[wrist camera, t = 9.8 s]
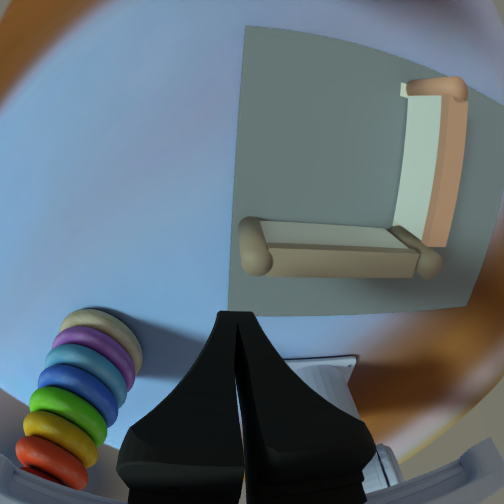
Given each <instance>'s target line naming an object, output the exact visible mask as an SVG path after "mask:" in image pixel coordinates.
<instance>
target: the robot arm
mask: <svg viewBox="0 0 504 504" xmlns="http://www.w3.org/2000/svg"><path fill="white" fill-rule="evenodd" d="M356 361H357V360H356V358H355V357H354V356H348V357H336V358H322V359H305V360H283V358H282V357H281V356H280V355H279V353H278V352H277V351H276V349H275V348H274V347H273V345H272V344H271V342H270V341H269V339H268V338H267V336H266V335H265V333H264V331H263V330H262V328H261V326H260V325H259V323H258V321H257V319H256V317H255V314H254V313H253V312H252V311H219V312H218V313H217V317H216V321H215V324H214V327H213V329H212V332H211V334H210V336H209V338H208V340H207V342H206V344H205V346H204V348H203V349H202V351H201V353H200V354H199V356H198V358H197V359H196V361H195V363H194V364H193V366H192V367H191V368H190V370H189V371H188V372H187V374H186V375H185V376H184V378H183V379H182V380H181V381H180V382H179V384H178V385H177V386H176V387H175V388H174V389H173V391H172V392H171V393H170V394H169V395H168V396H167V397H166V398H165V399H164V400H163V401H161V402H160V403H159V404H158V405H157V406H156V407H155V408H154V409H153V410H152V411H151V412H149V413H148V414H147V415H146V416H144V417H143V418H142V419H140V420H139V421H138V422H136V423H135V424H134V425H132V426H131V427H130V428H129V430H128V432H127V434H126V436H125V438H124V440H123V443H122V445H121V448H120V451H119V455H118V461H117V466H116V471H117V473H118V475H119V476H120V477H121V479H122V480H123V481H124V483H125V484H126V485H127V486H128V488H129V489H130V490H129V496H128V502H122V501H118V500H113V499H109V498H105V497H100V496H96V495H93V494H89V493H86V492H82V491H79V490H75V489H72V488H69V487H66V486H63V485H60V484H57V483H54V482H51V481H49V480H46V479H43V478H41V477H38V476H36V475H33V474H31V473H29V472H26V471H24V470H22V469H19V468H17V467H15V466H14V464H13V463H12V462H11V461H10V460H9V459H7V458H6V457H5V456H3V455H2V454H0V504H238V503H239V499H240V496H241V490H242V484H243V477H244V471H245V481H246V501H247V504H479V503H481V502H483V501H484V500H486V499H487V498H488V497H490V496H491V495H493V494H494V493H496V492H497V491H498V490H500V489H501V488H502V487H504V460H503V458H502V456H501V455H500V453H499V451H498V449H497V448H496V446H495V444H494V442H493V441H492V439H491V438H487V439H485V440H484V441H482V442H480V443H478V444H477V445H474V446H473V447H471V448H470V449H468V450H467V451H466V452H465V453H464V454H463V455H462V456H461V457H460V459H458V460H456V461H453V462H451V463H449V464H447V465H445V466H443V467H440V468H438V469H436V470H433V471H431V472H429V473H426V474H424V475H421V476H418V477H416V478H413V479H411V480H408V481H404V478H403V475H402V472H401V470H400V467H399V465H398V462H397V460H396V458H395V455H394V453H393V451H392V450H391V448H390V447H388V446H385V445H383V444H378V445H375V443H374V440H373V438H372V436H371V434H370V432H369V430H368V428H367V426H366V425H365V423H364V422H363V421H361V418H360V416H359V413H358V411H357V408H356V406H355V403H354V401H353V398H352V395H351V393H350V390H349V388H348V385H347V383H348V381H349V378H350V376H351V374H352V371H353V369H354V366H355V364H356ZM235 378H236V384H235ZM236 385H237V392H238V398H239V404H240V411H241V417H242V426H243V443H244V452H243V444H242V438H241V430H240V423H239V414H238V405H237V395H236ZM376 452H377V455H378V458H377V455H376ZM244 461H245V465H244Z"/></svg>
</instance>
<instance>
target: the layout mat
mask: <svg viewBox="0 0 504 504" xmlns="http://www.w3.org/2000/svg"><path fill="white" fill-rule="evenodd" d="M439 77H448V76H446V75H444V74H441V73H439V72H437V71H434V70H432V69H430V68H427V67H425V66H422V65H420V64H417V63H415V62H412V61H409V60H407V59H404V58H401V57H398V56H395V55H392V54H389V53H386V52H383V51H380V50H377V49H373V48H370V47H366V46H363V45H359V44H355V43H351V42H347V41H343V40H339V39H335V38H330V37H326V36H321V35H315V34H310V33H304V32H298V31H292V30H285V29H277V28H269V27H259V26H247V25H246V28H245V39H244V50H243V62H242V74H241V87H240V100H239V113H238V127H237V142H236V157H235V173H234V190H233V207H232V226H231V246H230V268H229V292H228V311H252V312H253V313H254V314H255V316H331V315H358V314H378V313H394V312H408V311H421V310H432V309H443V308H453V307H462V306H466V305H467V303H468V301H469V298H470V296H471V293H472V291H473V289H474V286H475V283H476V281H477V278H478V276H479V273H480V270H481V267H482V264H483V262H484V259H485V256H486V253H487V250H488V246H489V243H490V240H491V237H492V233H493V230H494V226H495V222H496V219H497V215H498V211H499V207H500V202H501V198H502V193H503V188H504V106H503V105H501V104H499V103H498V102H496V101H494V100H492V99H491V98H489V97H487V96H485V95H484V94H482V93H480V92H478V91H476V90H474V89H472V88H471V87H469V86H467V88H468V98H467V100H466V101H467V102H468V113H467V128H466V139H465V149H464V157H463V164H462V171H461V178H460V184H459V189H458V195H457V200H456V205H455V210H454V215H453V219H452V223H451V228H450V232H449V236H448V240H447V243H446V247H430V248H432V249H433V250H434V251H435V252H437V253H438V254H439V255H440V256H441V257H442V259H443V265H442V268H441V270H440V272H439V273H438V275H437V276H436V277H434V278H433V279H430V280H425V279H424V278H422V277H421V276H420V275H419V274H418V273H417V272H416V271H415V270H414V273H413V276H412V278H306V277H266V275H263V276H257V277H256V276H251V275H249V274H247V273H246V272H245V271H244V270H243V268H242V265H241V255H240V245H239V235H238V224H239V222H240V221H241V220H242V219H243V218H245V217H248V216H253V217H256V218H258V219H259V220H260V221H279V222H298V223H315V224H331V225H346V226H360V227H374V228H384V229H386V230H387V231H388V230H389V228H390V227H392V226H396V225H400V224H398V223H397V222H395V221H394V215H395V209H396V203H397V197H398V191H399V185H400V178H401V170H402V163H403V154H404V145H405V135H406V123H407V108H408V95H407V92H406V85H407V83H408V82H409V81H410V80H416V79H427V78H439ZM400 226H401V225H400Z"/></svg>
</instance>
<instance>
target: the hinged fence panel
mask: <svg viewBox="0 0 504 504" xmlns="http://www.w3.org/2000/svg"><path fill="white" fill-rule="evenodd" d="M406 92H407V95H408V108H407V123H406V135H405V145H404V154H403V163H402V170H401V178H400V185H399V191H398V197H397V203H396V209H395V215H394V221H395V222H397V223H398V224H400V225H401V226H402V227H404V228H405V229H406V230H408V231H409V232H411V233H412V234H413V235H415V236H416V237H417V238H419V239H420V240H421V243H423V244H424V245H425V246H427V247H446V243H447V240H448V236H449V232H450V228H451V223H452V219H453V215H454V210H455V205H456V200H457V195H458V189H459V184H460V178H461V171H462V164H463V157H464V149H465V139H466V128H467V113H468V102H467V101H466V100H467V98H468V88H467V85H466V83H465V82H464V80H463V79H461V78H460V77H457V76H455V77H439V78H427V79H416V80H410V81H409V82H408V83H407V85H406Z"/></svg>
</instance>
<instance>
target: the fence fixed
mask: <svg viewBox="0 0 504 504" xmlns="http://www.w3.org/2000/svg"><path fill="white" fill-rule="evenodd" d="M238 235H239V245H240V255H241V265H242V268H243V270H244V271H245V272H246V273H247V274H249V275H251V276H256V277H257V276H263V275H266V277H306V278H412V276H413V273H414V270H415V271H416V272H417V273H418V274H419V275H420V276H421V277H422V278H424V279H425V280H430V279H433V278H434V277H436V276H437V275H438V273H439V272H440V270H441V268H442V265H443V259H442V257H441V256H440V255H439V254H438V253H437V252H435V251H434V250H433V249H432V248H430V247H427V246H425V245H424V244H423V243H421V240H420V239H419V238H417V237H416V236H415V235H413V234H412V233H411V232H409V231H408V230H406V229H405V228H404V227H402V226H400V225H396V226H392V227H390V228H389V230H388V231H387V230H386V229H384V228H374V227H360V226H346V225H331V224H315V223H298V222H279V221H260V220H259V219H258V218H256V217H253V216H248V217H245V218H243V219H242V220H241V221H240V222H239V224H238Z"/></svg>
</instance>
